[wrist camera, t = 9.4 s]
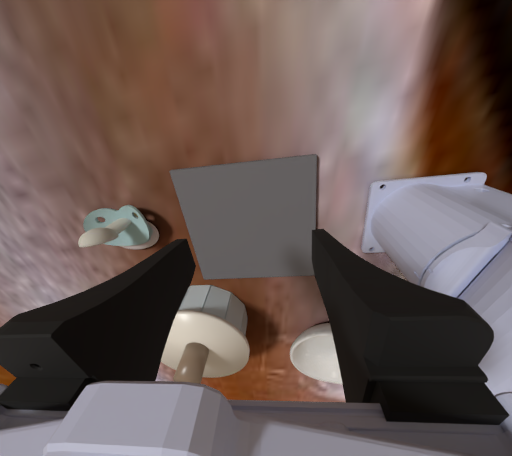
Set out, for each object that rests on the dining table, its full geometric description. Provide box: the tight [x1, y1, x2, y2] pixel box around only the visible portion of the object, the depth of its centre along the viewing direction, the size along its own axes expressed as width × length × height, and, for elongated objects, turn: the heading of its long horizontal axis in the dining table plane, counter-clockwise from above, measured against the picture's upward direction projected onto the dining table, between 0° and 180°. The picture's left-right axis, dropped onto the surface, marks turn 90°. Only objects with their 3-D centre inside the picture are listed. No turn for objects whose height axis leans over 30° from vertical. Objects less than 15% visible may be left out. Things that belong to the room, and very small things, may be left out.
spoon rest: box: [290, 323, 343, 384], centre depth 28 cm, size 24×12×7 cm, turn 101°
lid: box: [161, 310, 250, 384], centre depth 25 cm, size 13×13×4 cm
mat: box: [170, 154, 317, 279], centre depth 23 cm, size 14×14×1 cm
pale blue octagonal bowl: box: [179, 285, 248, 336], centre depth 29 cm, size 11×11×5 cm
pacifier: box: [78, 205, 159, 249], centre depth 22 cm, size 7×6×6 cm
